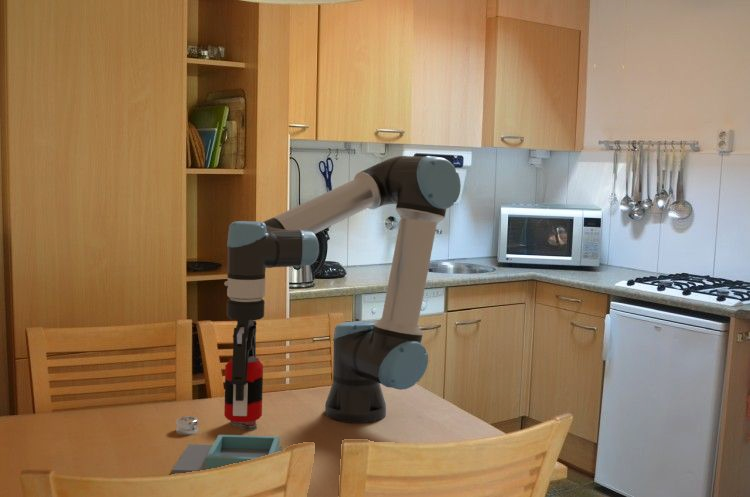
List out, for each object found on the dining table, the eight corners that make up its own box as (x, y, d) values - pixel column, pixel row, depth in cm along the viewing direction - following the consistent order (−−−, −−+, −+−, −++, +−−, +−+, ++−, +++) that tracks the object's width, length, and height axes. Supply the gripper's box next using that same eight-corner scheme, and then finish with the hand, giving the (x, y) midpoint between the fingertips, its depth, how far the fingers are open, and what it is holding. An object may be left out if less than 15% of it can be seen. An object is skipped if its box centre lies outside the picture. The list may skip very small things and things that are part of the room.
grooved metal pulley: (189, 436, 177) (202, 429, 181) (189, 423, 177) (203, 417, 181) (171, 432, 179) (185, 426, 184) (171, 420, 179) (185, 413, 183)
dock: (282, 451, 169) (282, 435, 169) (273, 477, 155) (273, 460, 155) (188, 448, 169) (188, 433, 169) (172, 474, 155) (172, 457, 155)
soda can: (263, 411, 165) (265, 355, 164) (259, 423, 157) (261, 364, 156) (227, 410, 165) (228, 354, 163) (221, 422, 157) (222, 363, 156)
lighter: (227, 422, 187) (227, 381, 186) (238, 419, 189) (239, 378, 188) (248, 431, 181) (248, 388, 180) (260, 427, 184) (260, 386, 183)
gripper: (236, 289, 169) (234, 393, 171) (216, 306, 148) (214, 424, 151) (271, 291, 169) (268, 395, 171) (256, 308, 148) (254, 426, 151)
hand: (243, 408), depth 161 cm, fingers closed on soda can, 7 cm apart
